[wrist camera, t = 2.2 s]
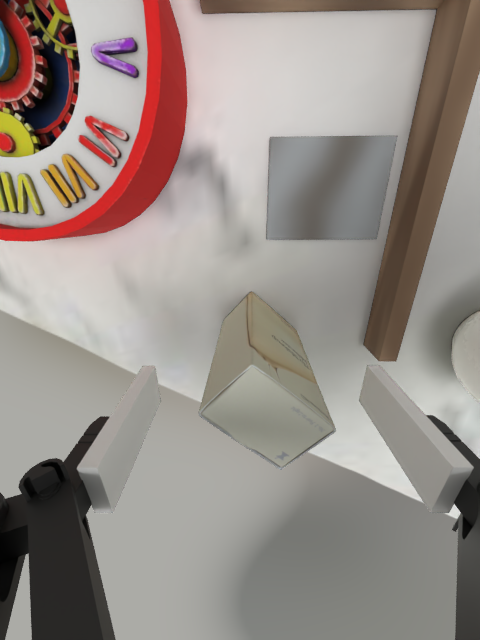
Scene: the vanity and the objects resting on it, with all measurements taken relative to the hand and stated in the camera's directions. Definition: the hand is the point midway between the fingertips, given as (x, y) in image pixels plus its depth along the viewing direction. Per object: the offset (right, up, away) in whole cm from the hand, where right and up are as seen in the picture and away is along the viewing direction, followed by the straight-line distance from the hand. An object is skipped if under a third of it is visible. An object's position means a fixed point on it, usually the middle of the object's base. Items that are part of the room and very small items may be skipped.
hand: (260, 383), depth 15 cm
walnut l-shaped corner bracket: (+4, +13, +4) cm, 14 cm away
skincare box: (0, +3, +8) cm, 9 cm away
